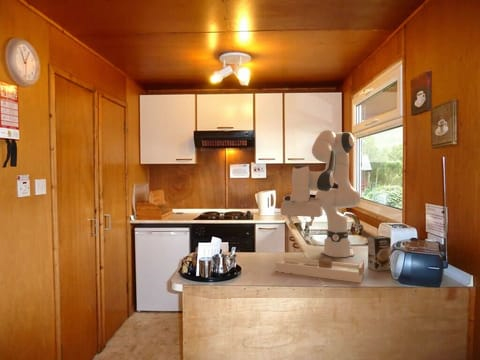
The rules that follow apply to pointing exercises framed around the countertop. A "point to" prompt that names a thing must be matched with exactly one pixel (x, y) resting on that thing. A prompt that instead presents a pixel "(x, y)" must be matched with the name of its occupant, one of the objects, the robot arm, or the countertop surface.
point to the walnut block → (325, 263)
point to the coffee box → (379, 252)
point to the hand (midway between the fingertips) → (300, 225)
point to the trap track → (322, 269)
